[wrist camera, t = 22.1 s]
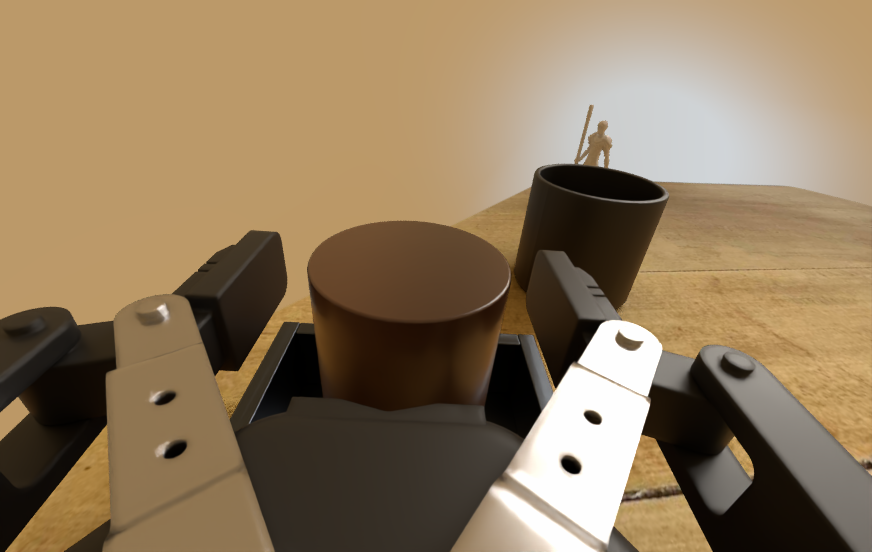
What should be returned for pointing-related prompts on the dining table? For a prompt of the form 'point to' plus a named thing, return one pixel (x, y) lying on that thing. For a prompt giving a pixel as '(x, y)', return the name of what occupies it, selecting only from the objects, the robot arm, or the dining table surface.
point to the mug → (591, 223)
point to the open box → (300, 377)
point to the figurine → (595, 143)
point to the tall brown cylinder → (407, 314)
